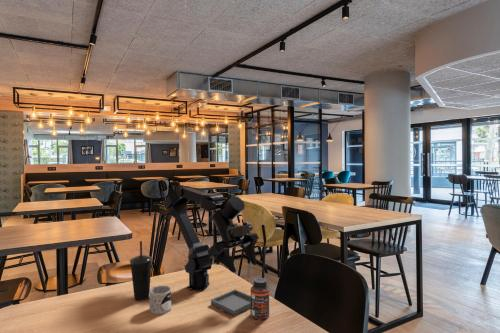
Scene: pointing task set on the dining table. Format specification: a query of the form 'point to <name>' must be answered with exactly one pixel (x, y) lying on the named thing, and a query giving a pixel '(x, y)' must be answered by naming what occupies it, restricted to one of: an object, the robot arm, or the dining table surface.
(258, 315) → the supplement bottle
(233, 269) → the robot arm
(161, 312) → the mug
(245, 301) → the tray
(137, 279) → the drinking cup
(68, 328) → the dining table surface
